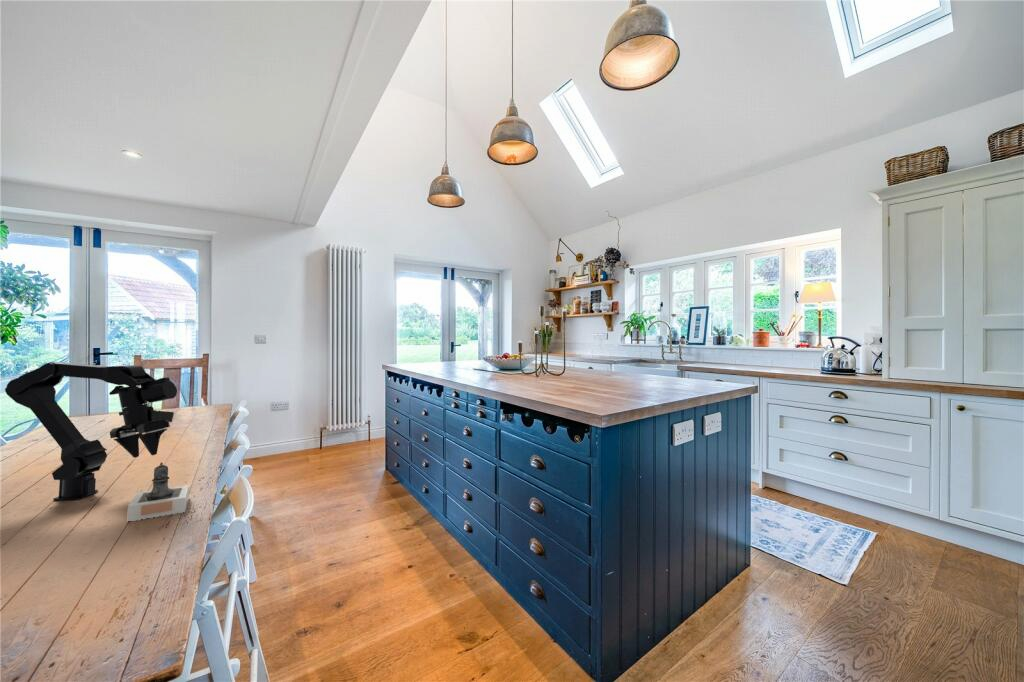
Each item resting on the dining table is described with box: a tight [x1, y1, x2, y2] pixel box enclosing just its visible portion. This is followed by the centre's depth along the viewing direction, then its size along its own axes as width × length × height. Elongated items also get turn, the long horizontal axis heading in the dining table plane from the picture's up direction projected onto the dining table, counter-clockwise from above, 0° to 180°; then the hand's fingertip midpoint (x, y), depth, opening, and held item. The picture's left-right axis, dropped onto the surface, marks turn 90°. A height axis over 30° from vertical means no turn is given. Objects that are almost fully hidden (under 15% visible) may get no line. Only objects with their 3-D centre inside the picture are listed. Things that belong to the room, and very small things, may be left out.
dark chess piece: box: [145, 462, 174, 502], centre depth 105 cm, size 6×6×12 cm
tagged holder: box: [126, 484, 190, 523], centre depth 104 cm, size 11×12×4 cm
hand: (145, 456), depth 115 cm, fingers open, 9 cm apart
